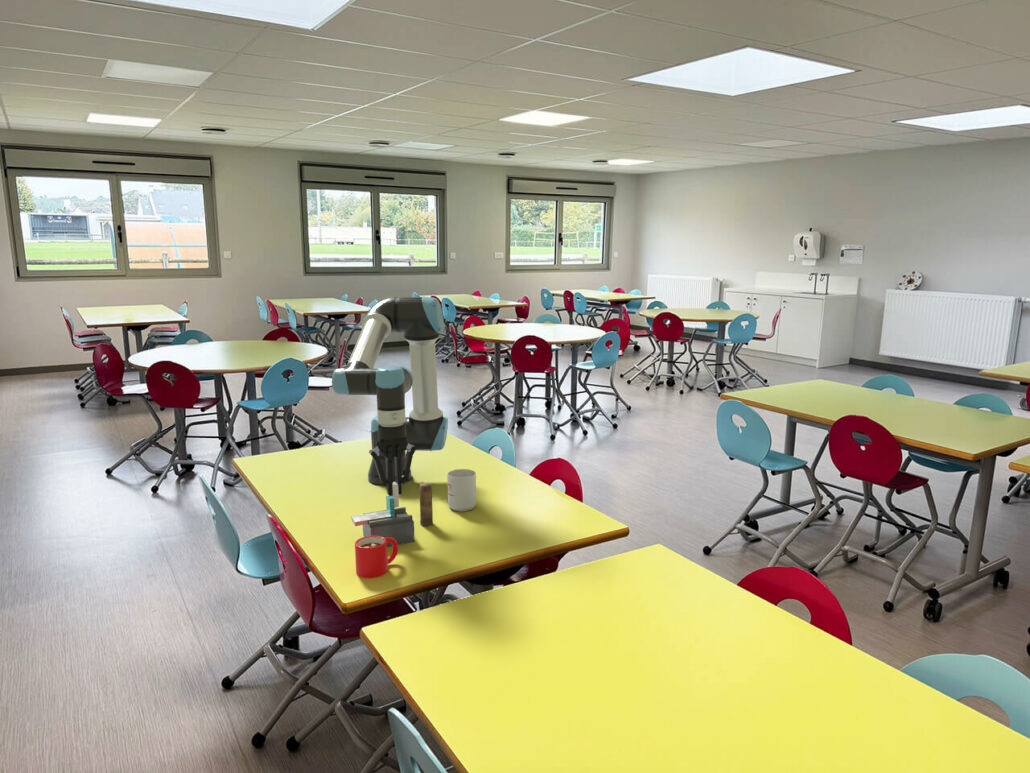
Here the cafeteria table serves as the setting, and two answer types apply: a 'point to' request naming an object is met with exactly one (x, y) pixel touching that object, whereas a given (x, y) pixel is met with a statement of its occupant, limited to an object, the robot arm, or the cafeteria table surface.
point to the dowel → (426, 504)
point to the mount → (392, 527)
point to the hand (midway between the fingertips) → (395, 505)
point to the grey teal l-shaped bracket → (375, 514)
